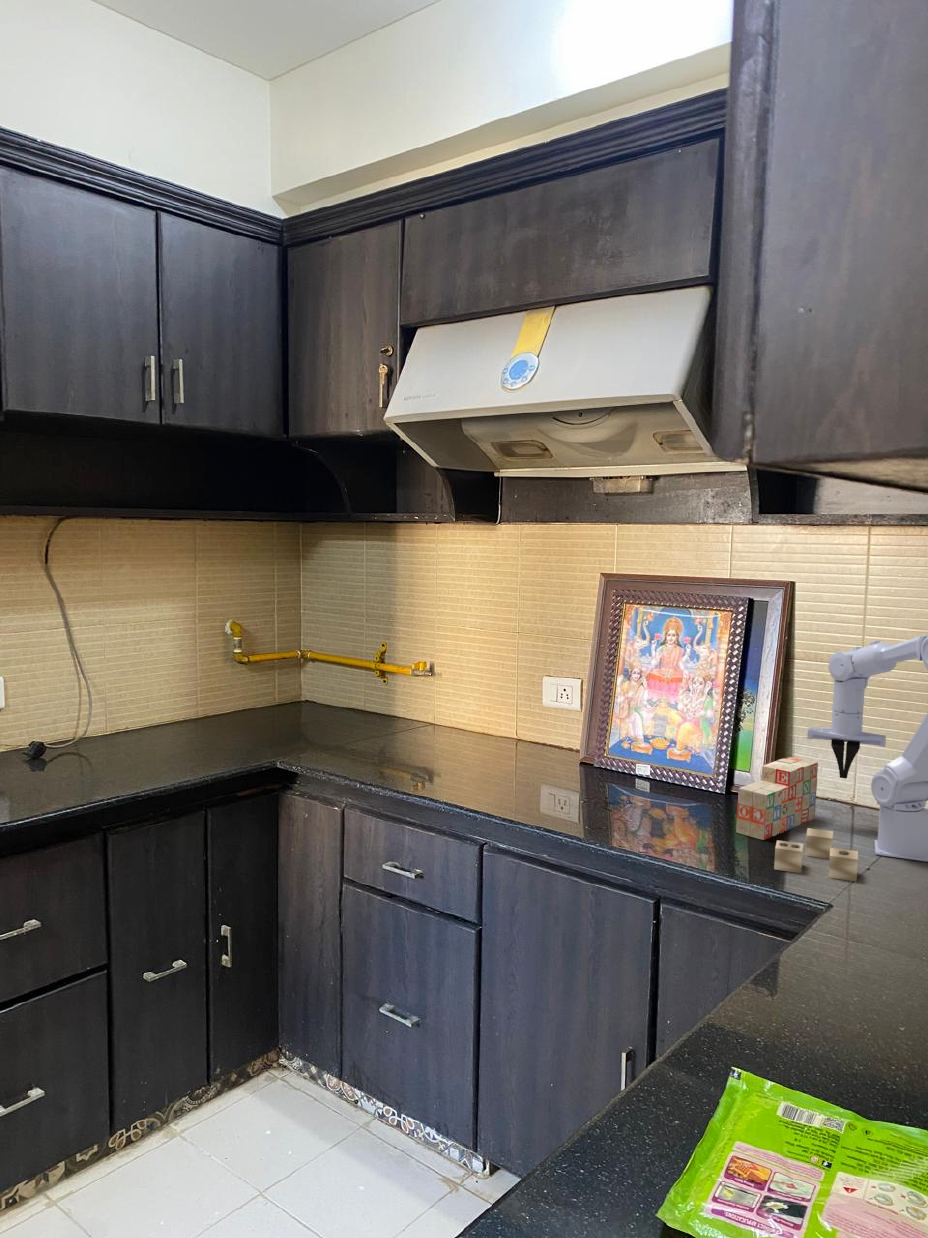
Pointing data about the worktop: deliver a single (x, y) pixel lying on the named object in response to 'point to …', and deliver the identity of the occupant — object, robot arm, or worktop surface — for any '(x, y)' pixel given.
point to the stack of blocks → (778, 798)
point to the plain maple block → (818, 843)
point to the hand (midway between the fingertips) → (843, 777)
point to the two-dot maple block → (788, 856)
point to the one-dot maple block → (843, 864)
